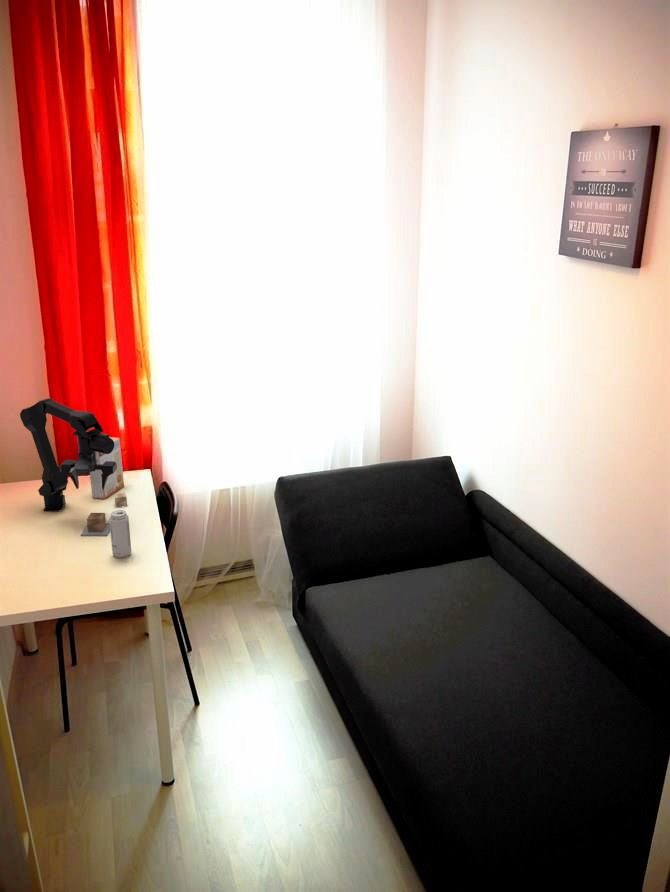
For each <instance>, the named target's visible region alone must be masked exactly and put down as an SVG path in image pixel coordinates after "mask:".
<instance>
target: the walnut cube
mask: <svg viewBox="0 0 670 892" xmlns="http://www.w3.org/2000/svg"><path fill="white" fill-rule="evenodd" d="M106 519H107V518H106V512H90V513H89V515H88V516H87V518H86V526H87V527H88V532H103V530H104V529H105V527H106V523H107V520H106Z"/></svg>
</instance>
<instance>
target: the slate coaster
mask: <svg viewBox="0 0 670 892" xmlns="http://www.w3.org/2000/svg"><path fill="white" fill-rule="evenodd" d="M109 533H110V522H106V527H105V529H104V530H103V532H88V527H87V525H86V526H85V527H84V529H83V530H82V532H81V533H80V536H81V537H107V536H108V535H109Z"/></svg>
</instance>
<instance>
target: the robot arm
mask: <svg viewBox="0 0 670 892" xmlns="http://www.w3.org/2000/svg"><path fill="white" fill-rule="evenodd" d="M47 414H49V415H50V416H53V417H54V418H57V419H60V420H62V421H64V422H67V423H68V424H69V426H70V428H71V429H73V430H75V431H74V432H72V436H75V437H77V446H78V447H77V448H78V452H77V459H76V460H75V459H65V460H64V461H63V462H62V463H61V464H60V465H58V462H57V460H56V457H55V454H54V451H53V448H52V445H51V443H50V438H49V437H48V436H49V435H48V433H47V431H46V425H47V422H48V419H47ZM19 418H20V421H21V422H22V424H23V426H24V427H25V428H26V430H27V431H29V432H30V434H31V436H32V438H33V442H34V445H35V448H36V451H37V453H38V457H39V459H40V463H41V466H42V469H43V472H42V475H41V481H42V485H41V486H39V488H38V489H37V491H38V494H39V496H42V497H43V502H44V508H43V512H61V511H62V510H63V508H65V506H66V505H67V503H66V496H65V494H64V491H66V490H67V485H68V484H69V480H68V479H71V481H72V483H73V484H74V487H75V488H76V490H78V489H79V487H80V486H79V484H80V483H79V476H85V477H88V476H90V472H92V471H93V472H95V470H101V471H102V474H101V476H102V490H104V488H105V485H106V482H107V478H108V476H110V475H111V474H113V473H114V472H115V471H116V469H117V464H116V462H112V461H105V463H104V464H97V462H98V460H97V459H96V452H100V453H104V454H110V453H111V452H112V451H113V449H114V441H113V440H112V439H111V438H109V437H110V434H108V433H104V429H103V427H102V425H101V424H100V422H99V421H98V419H97V418H96V415H95V414H94V413H92V412H90V411H85V410H84V411H83V410H75V409H73V408H70V407H68V406H66V405H64V404H61V403H59V402H57V401H54V400H53V399H52V398H49V397H47V398H44V399H41V400H39V401H38V402H36V403H35V404H33V405H31V406H29V407H26V408H23V409H21V410H20V413H19ZM91 429H92V430H91ZM68 476H69V477H68Z"/></svg>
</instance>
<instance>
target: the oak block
mask: <svg viewBox="0 0 670 892" xmlns="http://www.w3.org/2000/svg"><path fill="white" fill-rule="evenodd" d="M113 495H114V502H115V503H114V504H115V507H117V508H123V507H122V506H124V507H128V501H127V500H128V499H127V494H126V492H121V493H113Z"/></svg>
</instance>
